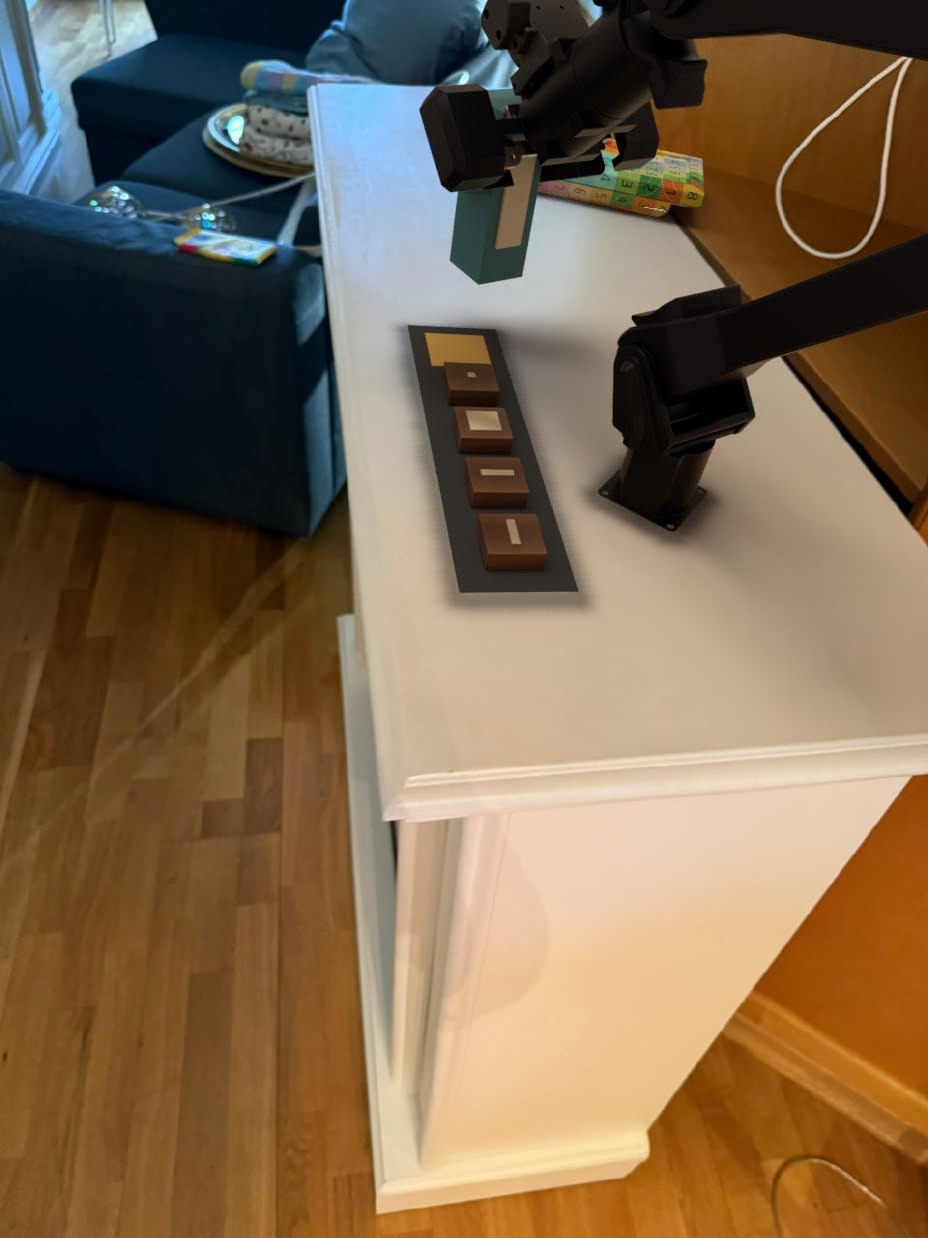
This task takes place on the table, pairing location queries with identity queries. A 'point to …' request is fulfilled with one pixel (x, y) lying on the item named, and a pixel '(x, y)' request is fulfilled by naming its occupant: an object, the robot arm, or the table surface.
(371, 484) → the table surface
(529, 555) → the tile
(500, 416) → the tile
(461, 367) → the tile
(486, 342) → the word mat
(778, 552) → the table surface
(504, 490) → the tile
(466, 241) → the teal tall rectangular block
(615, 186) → the puzzle game
